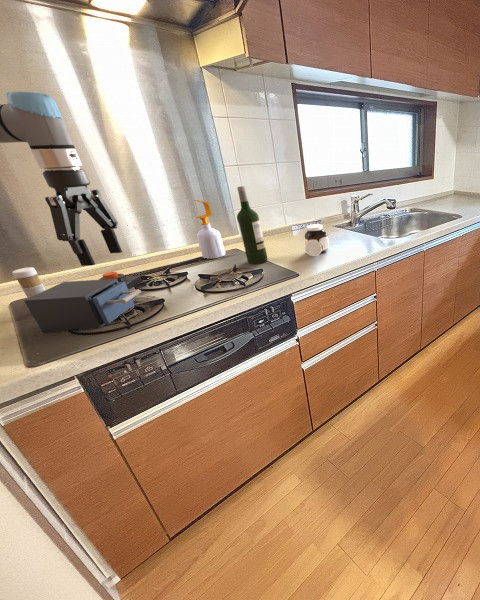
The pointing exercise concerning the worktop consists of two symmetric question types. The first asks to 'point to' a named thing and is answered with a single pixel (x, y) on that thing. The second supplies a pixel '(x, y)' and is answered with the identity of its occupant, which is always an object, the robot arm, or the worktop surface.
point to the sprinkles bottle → (29, 281)
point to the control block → (128, 280)
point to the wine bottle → (251, 231)
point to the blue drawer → (112, 301)
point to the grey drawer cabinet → (67, 305)
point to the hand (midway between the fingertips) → (103, 258)
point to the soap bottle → (209, 237)
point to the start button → (110, 275)
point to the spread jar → (316, 240)
